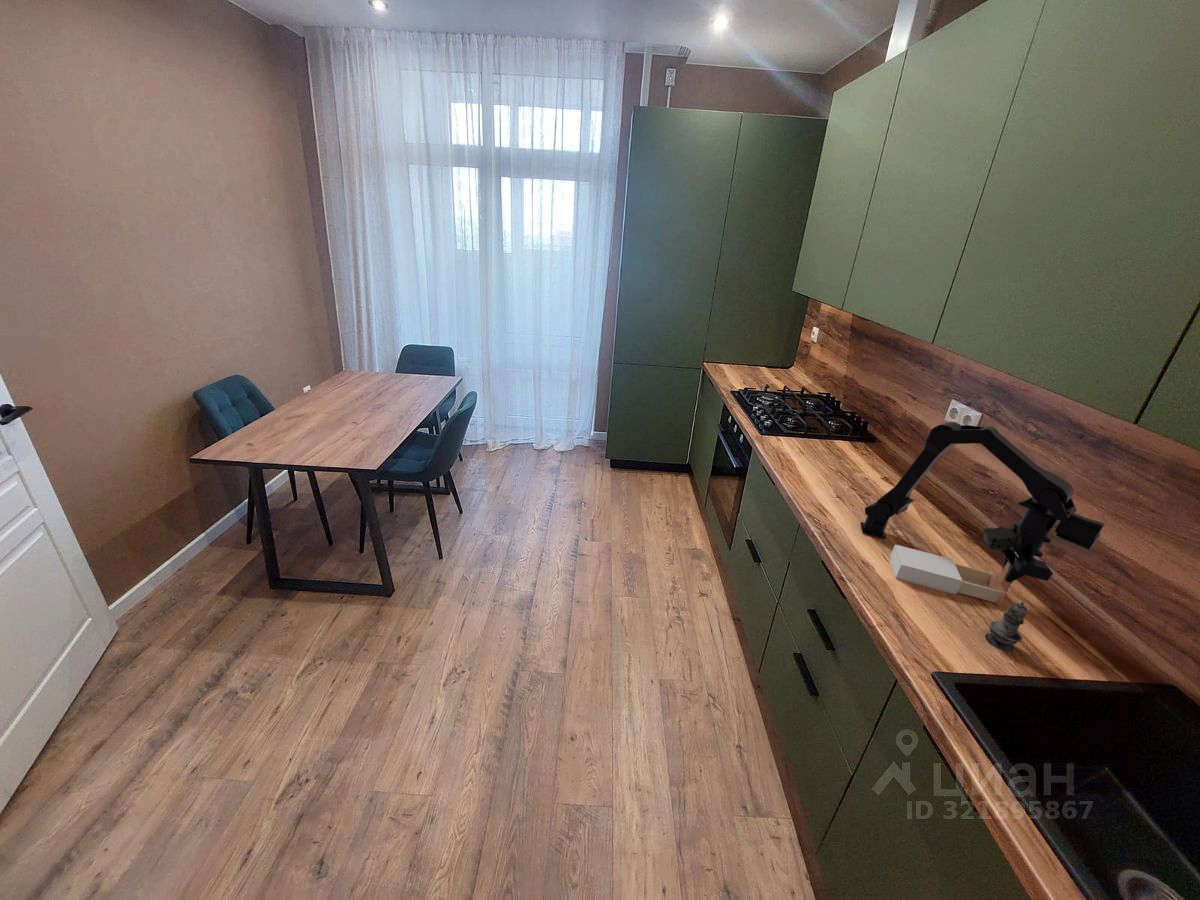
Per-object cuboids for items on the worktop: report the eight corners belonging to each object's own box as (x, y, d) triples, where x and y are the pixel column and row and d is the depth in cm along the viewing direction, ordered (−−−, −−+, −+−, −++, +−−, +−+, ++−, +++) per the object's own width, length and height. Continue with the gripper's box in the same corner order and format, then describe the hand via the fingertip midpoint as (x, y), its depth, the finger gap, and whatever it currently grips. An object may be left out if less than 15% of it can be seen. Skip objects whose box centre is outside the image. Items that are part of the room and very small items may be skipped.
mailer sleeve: (889, 557, 136) (895, 544, 134) (945, 572, 132) (952, 559, 130) (895, 578, 127) (901, 564, 125) (955, 594, 123) (962, 581, 121)
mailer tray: (928, 566, 133) (941, 537, 129) (995, 584, 128) (1011, 555, 124) (937, 588, 124) (951, 558, 120) (1008, 608, 120) (1026, 577, 116)
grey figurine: (984, 628, 113) (1006, 588, 108) (1015, 642, 109) (1039, 602, 104) (982, 642, 108) (1006, 602, 103) (1015, 657, 105) (1040, 616, 100)
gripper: (983, 501, 126) (959, 550, 132) (1009, 538, 110) (980, 591, 116) (1033, 513, 123) (1006, 561, 129) (1068, 552, 107) (1035, 606, 113)
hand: (1005, 578), depth 122 cm, fingers closed on mailer tray, 2 cm apart
